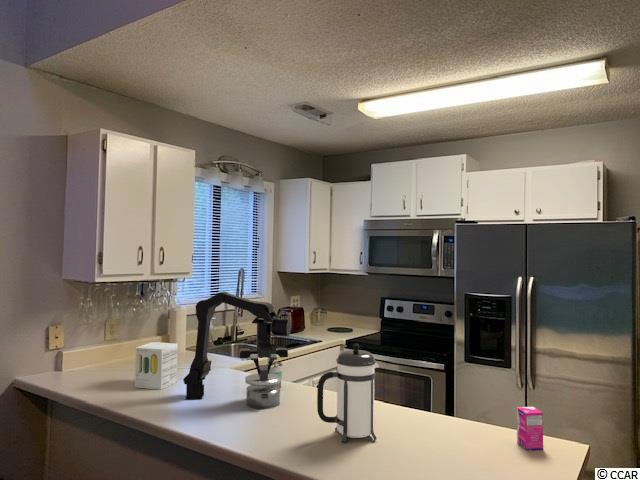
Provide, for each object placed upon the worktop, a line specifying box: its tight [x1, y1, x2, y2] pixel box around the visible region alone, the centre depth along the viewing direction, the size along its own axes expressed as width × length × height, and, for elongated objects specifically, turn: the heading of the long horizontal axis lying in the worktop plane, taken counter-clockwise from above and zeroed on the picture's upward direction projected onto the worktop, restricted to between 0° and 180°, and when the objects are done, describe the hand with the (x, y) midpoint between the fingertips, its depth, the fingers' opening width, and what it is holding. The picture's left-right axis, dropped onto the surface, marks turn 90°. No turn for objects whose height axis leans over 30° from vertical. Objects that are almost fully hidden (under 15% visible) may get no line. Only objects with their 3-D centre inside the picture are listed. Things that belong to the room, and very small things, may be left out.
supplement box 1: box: [134, 341, 179, 391], centre depth 210 cm, size 13×13×18 cm
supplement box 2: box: [516, 406, 544, 451], centre depth 147 cm, size 6×6×12 cm
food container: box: [269, 361, 284, 389], centre depth 206 cm, size 12×6×10 cm, turn 168°
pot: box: [245, 384, 281, 410], centre depth 185 cm, size 13×16×6 cm
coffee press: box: [316, 343, 380, 444], centre depth 153 cm, size 17×16×30 cm
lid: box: [244, 364, 282, 386], centre depth 185 cm, size 14×14×5 cm
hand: (263, 374), depth 186 cm, fingers closed on lid, 3 cm apart
